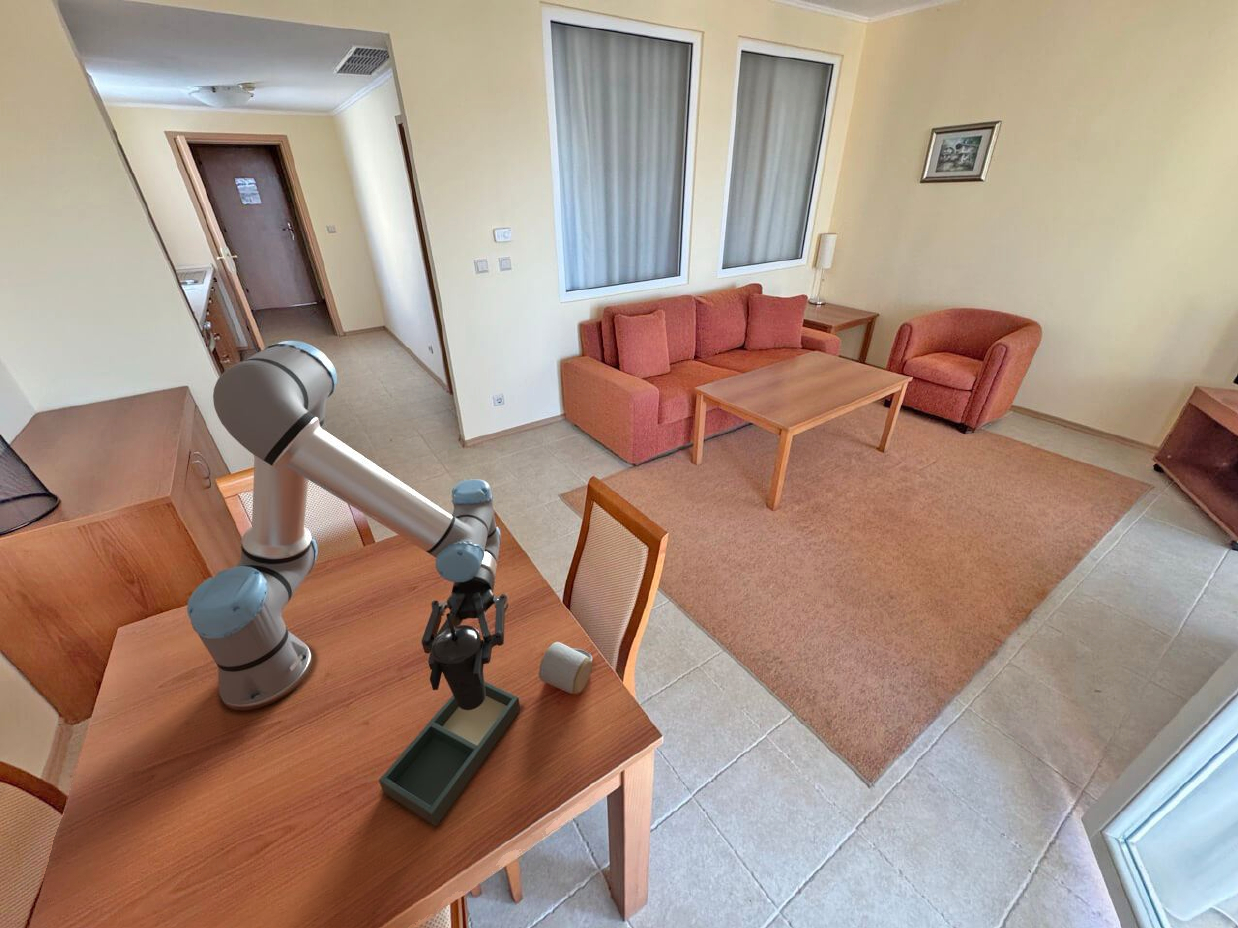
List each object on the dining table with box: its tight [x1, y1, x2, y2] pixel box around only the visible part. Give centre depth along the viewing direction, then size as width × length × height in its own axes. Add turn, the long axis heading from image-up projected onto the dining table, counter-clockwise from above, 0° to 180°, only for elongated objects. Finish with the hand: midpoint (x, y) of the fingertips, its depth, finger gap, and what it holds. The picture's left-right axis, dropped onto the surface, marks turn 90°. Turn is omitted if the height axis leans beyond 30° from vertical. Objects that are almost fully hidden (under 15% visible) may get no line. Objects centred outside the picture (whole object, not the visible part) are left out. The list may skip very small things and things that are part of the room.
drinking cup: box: [432, 612, 486, 710], centre depth 81 cm, size 8×8×20 cm
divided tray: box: [378, 680, 521, 827], centre depth 84 cm, size 11×21×4 cm, turn 154°
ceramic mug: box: [538, 641, 593, 695], centre depth 96 cm, size 11×8×8 cm
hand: (455, 681), depth 76 cm, fingers closed on drinking cup, 6 cm apart
